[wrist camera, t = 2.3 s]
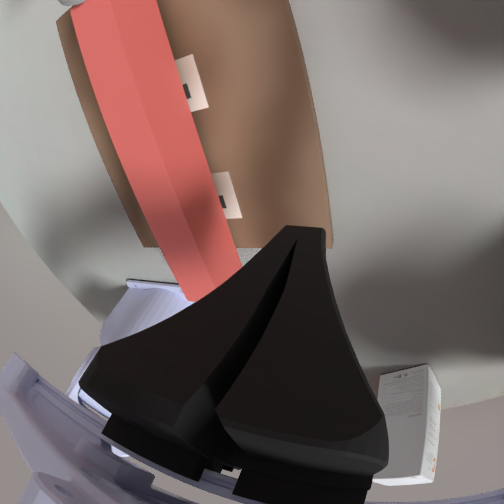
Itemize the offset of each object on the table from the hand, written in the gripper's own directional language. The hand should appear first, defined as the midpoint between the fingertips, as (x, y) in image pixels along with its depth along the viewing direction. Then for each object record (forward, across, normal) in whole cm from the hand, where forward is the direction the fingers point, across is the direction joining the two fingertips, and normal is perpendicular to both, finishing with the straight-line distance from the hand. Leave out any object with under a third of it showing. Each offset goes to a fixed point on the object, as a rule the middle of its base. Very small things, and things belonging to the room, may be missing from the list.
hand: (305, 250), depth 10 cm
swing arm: (+8, +9, -3) cm, 13 cm away
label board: (+9, +10, -4) cm, 14 cm away
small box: (+10, -12, +27) cm, 31 cm away
